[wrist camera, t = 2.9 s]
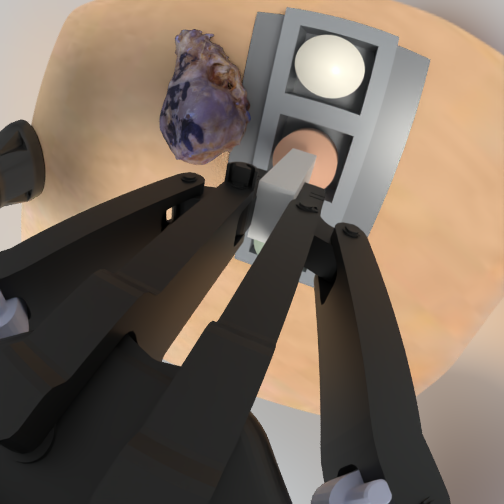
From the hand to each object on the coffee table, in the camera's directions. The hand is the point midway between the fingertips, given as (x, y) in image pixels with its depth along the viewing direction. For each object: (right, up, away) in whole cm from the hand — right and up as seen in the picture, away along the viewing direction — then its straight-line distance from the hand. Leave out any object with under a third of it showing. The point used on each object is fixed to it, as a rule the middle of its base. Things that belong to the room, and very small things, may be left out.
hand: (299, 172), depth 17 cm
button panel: (+2, +4, +5) cm, 7 cm away
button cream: (+3, +8, -1) cm, 8 cm away
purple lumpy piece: (-6, +9, +5) cm, 12 cm away
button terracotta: (+1, +2, +3) cm, 4 cm away
